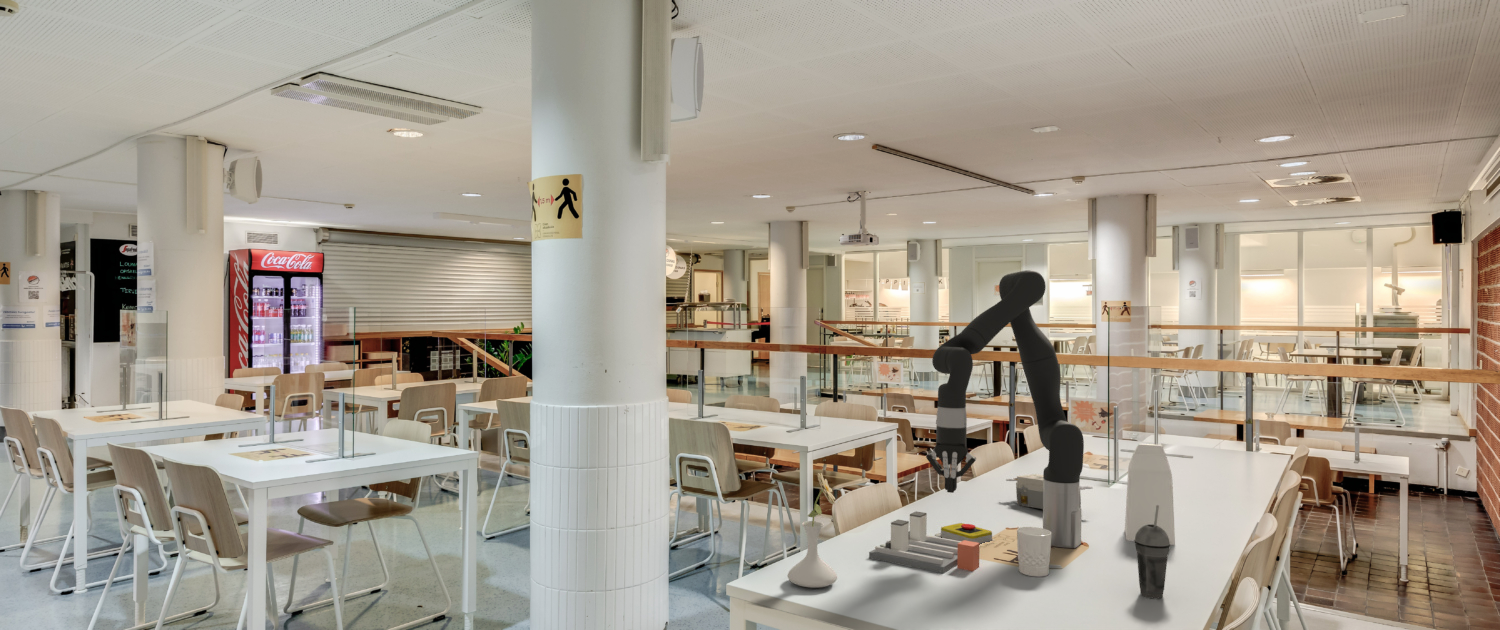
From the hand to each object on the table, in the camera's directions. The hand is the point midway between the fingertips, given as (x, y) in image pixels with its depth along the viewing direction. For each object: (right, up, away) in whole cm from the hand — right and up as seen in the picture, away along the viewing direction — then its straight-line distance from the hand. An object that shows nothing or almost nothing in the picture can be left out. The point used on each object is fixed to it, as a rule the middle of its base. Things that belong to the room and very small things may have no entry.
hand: (950, 491), depth 212 cm
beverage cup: (+38, -17, -28) cm, 50 cm away
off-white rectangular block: (-7, -15, +7) cm, 18 cm away
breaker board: (-7, -16, 0) cm, 18 cm away
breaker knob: (-13, -15, -2) cm, 20 cm away
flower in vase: (-37, -16, -22) cm, 46 cm away
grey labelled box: (+44, -17, +53) cm, 71 cm away
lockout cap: (+2, -17, -10) cm, 19 cm away
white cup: (+17, -17, -13) cm, 27 cm away
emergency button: (+8, -17, +16) cm, 25 cm away
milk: (+60, -17, +19) cm, 66 cm away
